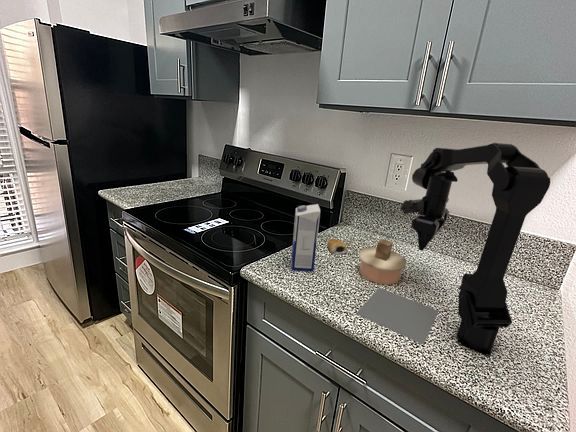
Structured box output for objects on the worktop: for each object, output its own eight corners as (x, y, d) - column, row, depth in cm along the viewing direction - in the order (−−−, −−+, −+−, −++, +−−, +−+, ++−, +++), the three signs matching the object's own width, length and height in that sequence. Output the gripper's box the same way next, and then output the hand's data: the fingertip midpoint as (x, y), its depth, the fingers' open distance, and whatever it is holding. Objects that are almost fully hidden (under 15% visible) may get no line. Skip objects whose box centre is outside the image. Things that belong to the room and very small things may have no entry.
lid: (411, 259, 96) (415, 242, 94) (397, 276, 85) (401, 257, 84) (369, 245, 104) (372, 229, 102) (351, 259, 93) (353, 241, 91)
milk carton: (313, 272, 95) (320, 210, 89) (291, 270, 95) (297, 208, 88) (311, 261, 102) (318, 203, 95) (291, 260, 102) (296, 201, 95)
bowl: (404, 275, 98) (407, 259, 96) (391, 290, 89) (395, 273, 87) (368, 262, 104) (370, 247, 103) (353, 275, 95) (355, 259, 93)
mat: (438, 312, 80) (438, 310, 80) (422, 346, 68) (423, 344, 67) (378, 289, 89) (379, 287, 88) (355, 315, 76) (355, 313, 76)
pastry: (323, 243, 117) (324, 234, 116) (340, 243, 118) (341, 234, 117) (330, 255, 108) (332, 245, 107) (349, 255, 109) (350, 245, 108)
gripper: (416, 183, 98) (406, 229, 103) (397, 193, 83) (387, 246, 88) (455, 191, 92) (442, 239, 97) (442, 202, 77) (428, 259, 82)
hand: (424, 245), depth 91 cm, fingers open, 9 cm apart
